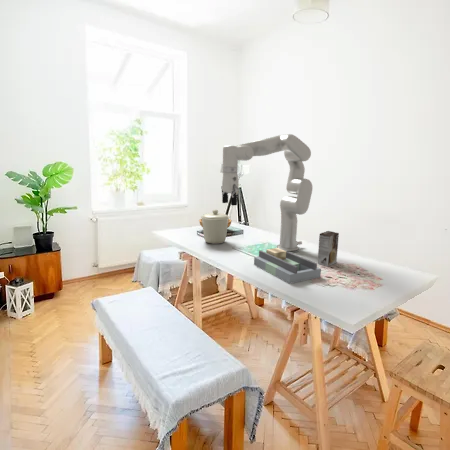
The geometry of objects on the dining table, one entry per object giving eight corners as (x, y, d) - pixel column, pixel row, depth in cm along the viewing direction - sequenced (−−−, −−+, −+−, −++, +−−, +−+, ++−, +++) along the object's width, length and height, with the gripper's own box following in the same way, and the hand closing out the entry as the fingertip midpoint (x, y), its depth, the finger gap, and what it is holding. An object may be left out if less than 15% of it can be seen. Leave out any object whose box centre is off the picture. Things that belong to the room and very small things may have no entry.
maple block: (277, 255, 166) (277, 247, 165) (285, 259, 160) (286, 251, 159) (266, 257, 163) (266, 249, 162) (274, 260, 157) (274, 253, 156)
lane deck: (282, 260, 172) (283, 247, 170) (320, 277, 147) (321, 262, 146) (254, 264, 163) (254, 251, 162) (289, 283, 139) (290, 268, 138)
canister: (226, 246, 196) (227, 212, 192) (197, 244, 199) (197, 211, 195) (230, 239, 214) (231, 208, 210) (204, 237, 217) (204, 206, 213)
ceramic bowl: (240, 232, 235) (240, 221, 233) (212, 236, 221) (212, 225, 219) (217, 225, 258) (217, 215, 257) (191, 228, 244) (191, 218, 243)
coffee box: (325, 260, 173) (327, 230, 170) (336, 262, 169) (339, 232, 166) (316, 263, 167) (319, 233, 164) (328, 266, 162) (330, 235, 159)
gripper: (245, 171, 158) (244, 205, 161) (228, 169, 173) (228, 201, 176) (231, 171, 154) (230, 206, 158) (216, 169, 169) (215, 202, 173)
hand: (229, 204), depth 167 cm, fingers open, 9 cm apart
